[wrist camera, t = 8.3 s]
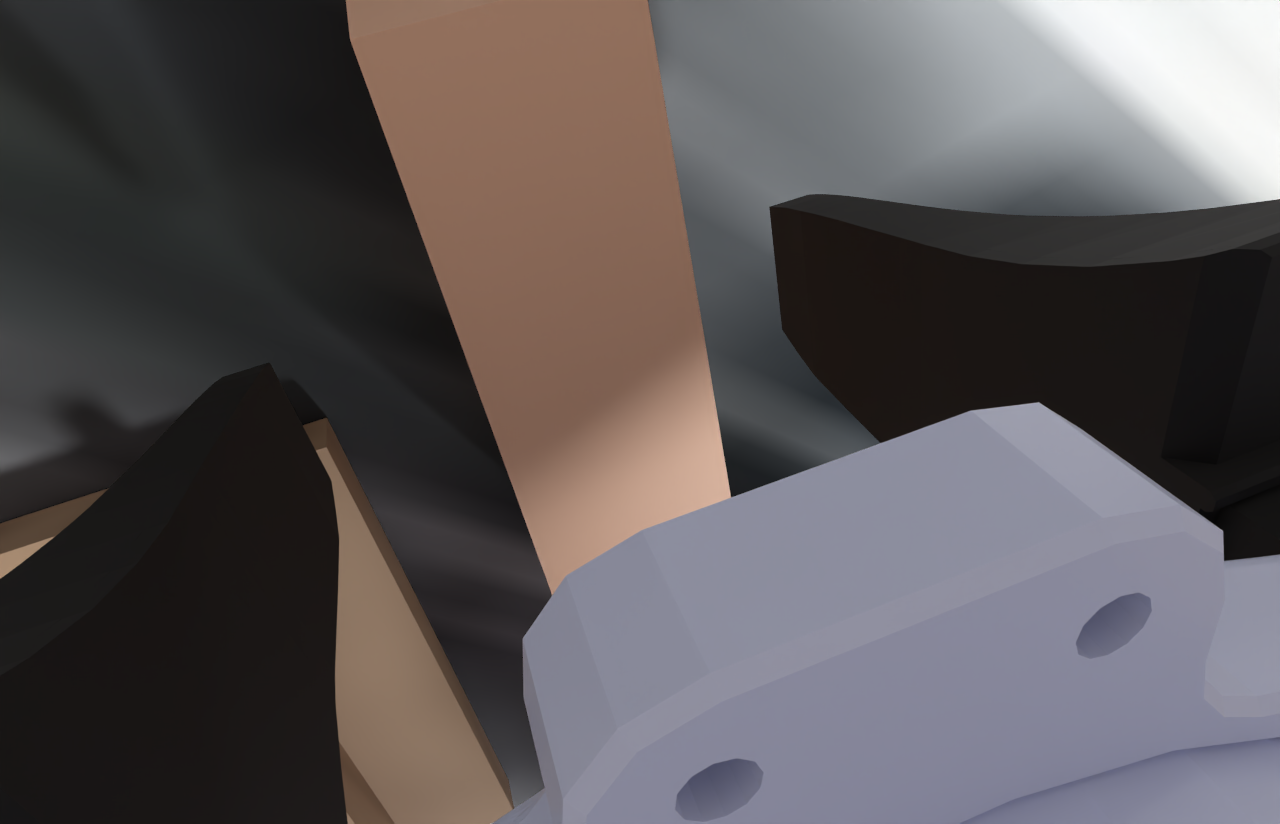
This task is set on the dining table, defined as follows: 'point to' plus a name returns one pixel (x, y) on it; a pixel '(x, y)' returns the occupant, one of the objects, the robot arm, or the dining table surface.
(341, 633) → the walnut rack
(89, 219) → the dining table surface
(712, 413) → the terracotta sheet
